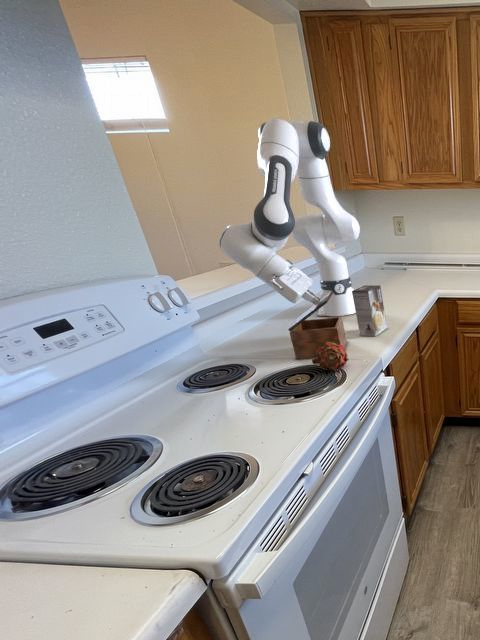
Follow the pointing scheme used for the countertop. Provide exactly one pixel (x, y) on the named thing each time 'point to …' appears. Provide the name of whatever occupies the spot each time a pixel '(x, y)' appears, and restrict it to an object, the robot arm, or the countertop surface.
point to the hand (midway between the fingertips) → (318, 302)
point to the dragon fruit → (331, 357)
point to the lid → (310, 311)
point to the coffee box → (369, 310)
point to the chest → (317, 335)
